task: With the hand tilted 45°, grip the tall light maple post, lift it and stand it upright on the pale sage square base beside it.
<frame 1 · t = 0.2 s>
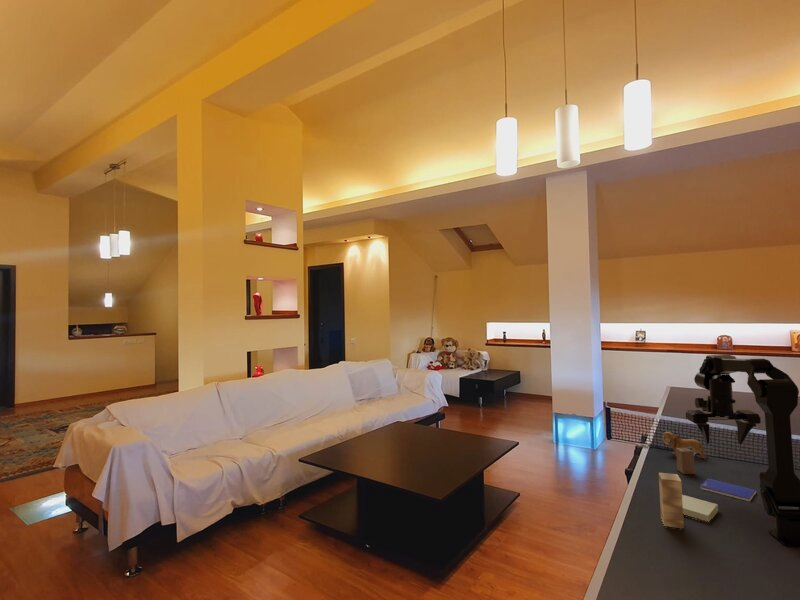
hand: (723, 443, 133), 15 cm above the table, tool pointing down, fingers open, 9 cm apart
wooden block: (685, 472, 148), on the table
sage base: (694, 513, 122), on the table
hard drive: (727, 493, 133), on the table
maple post: (672, 524, 115), on the table
lion figurine: (684, 456, 162), on the table
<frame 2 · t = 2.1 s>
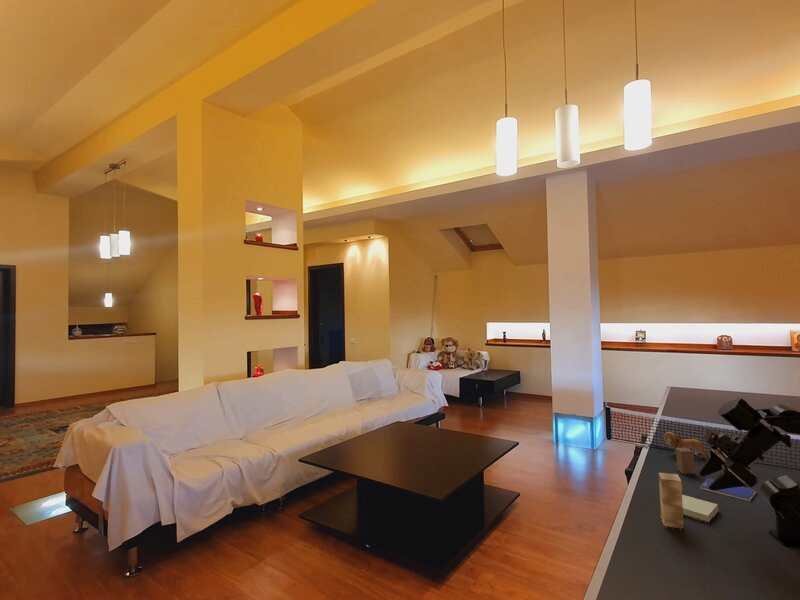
hand: (705, 481, 113), 12 cm above the table, tool tilted 45°, fingers open, 9 cm apart
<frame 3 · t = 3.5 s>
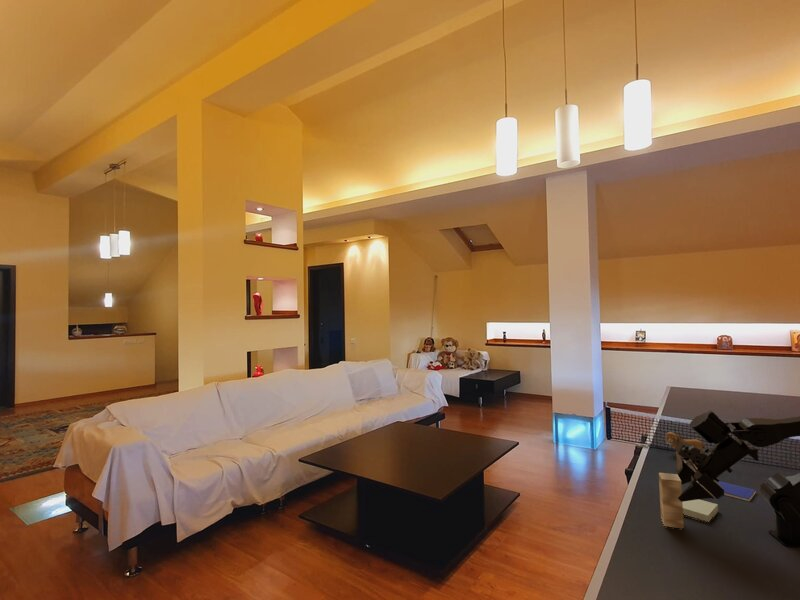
hand: (675, 492, 115), 9 cm above the table, tool tilted 45°, fingers open, 9 cm apart
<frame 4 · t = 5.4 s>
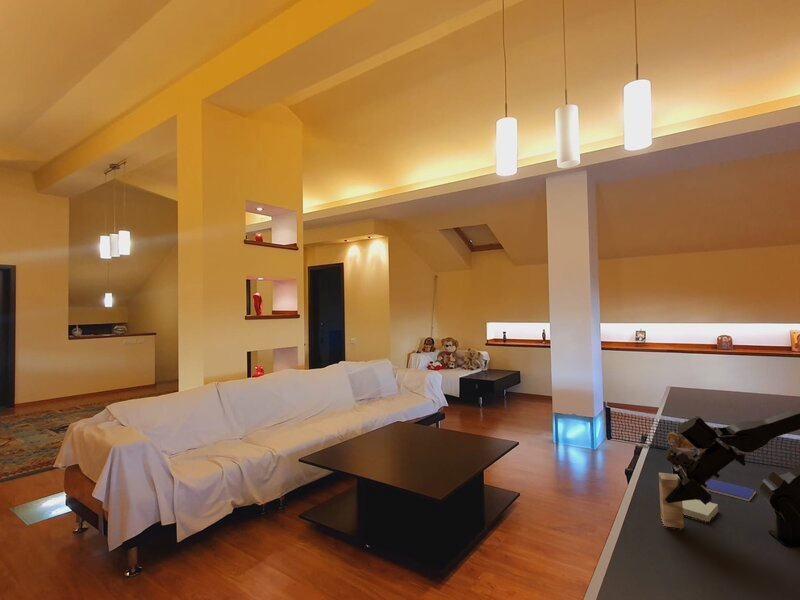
hand: (664, 497, 116), 7 cm above the table, tool tilted 45°, fingers closed on maple post, 4 cm apart
maple post: (672, 524, 115), on the table, touching gripper
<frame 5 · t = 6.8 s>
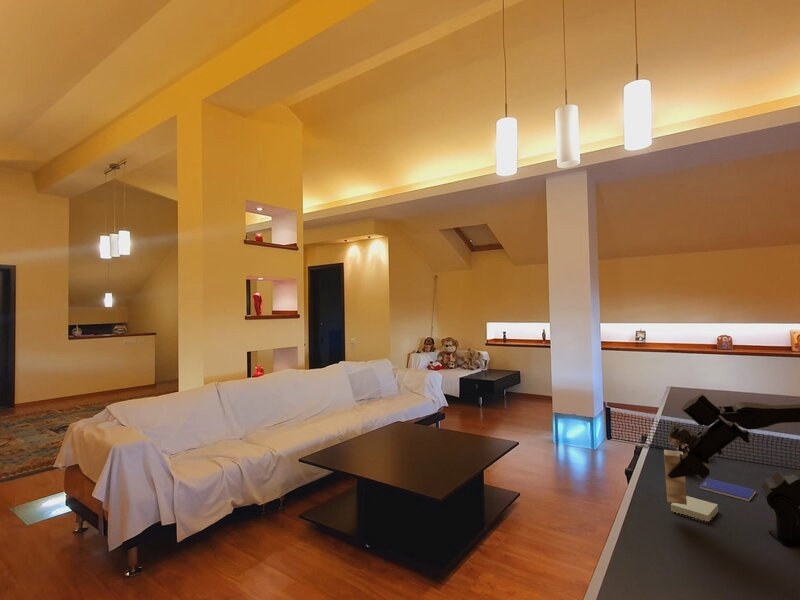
hand: (669, 473, 119), 12 cm above the table, tool tilted 45°, fingers closed on maple post, 4 cm apart
maple post: (676, 499, 118), point 5 cm above the table, touching gripper
when the fingers open (11 cm above the table, at t = 8.6 s): maple post drops 2 cm, point 2 cm above the table.
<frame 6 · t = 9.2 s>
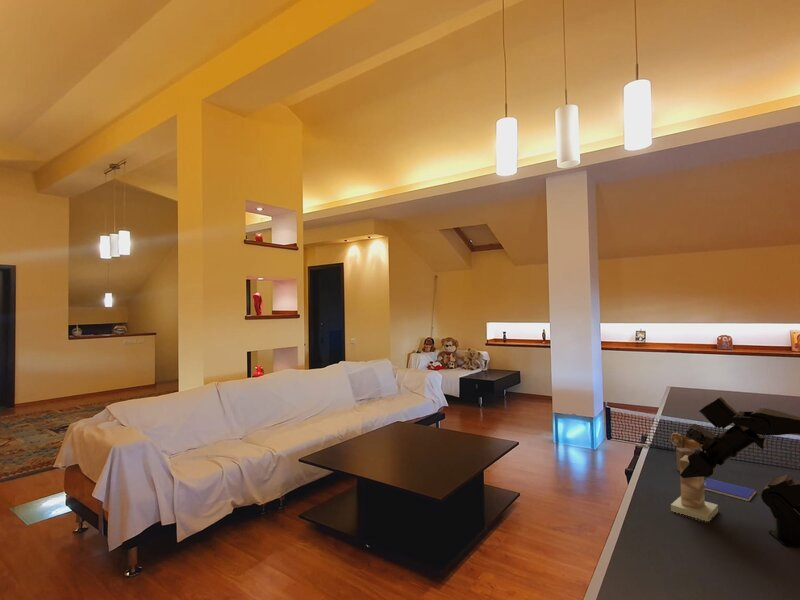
hand: (686, 471, 123), 11 cm above the table, tool tilted 45°, fingers open, 9 cm apart
maple post: (693, 504, 122), point 2 cm above the table
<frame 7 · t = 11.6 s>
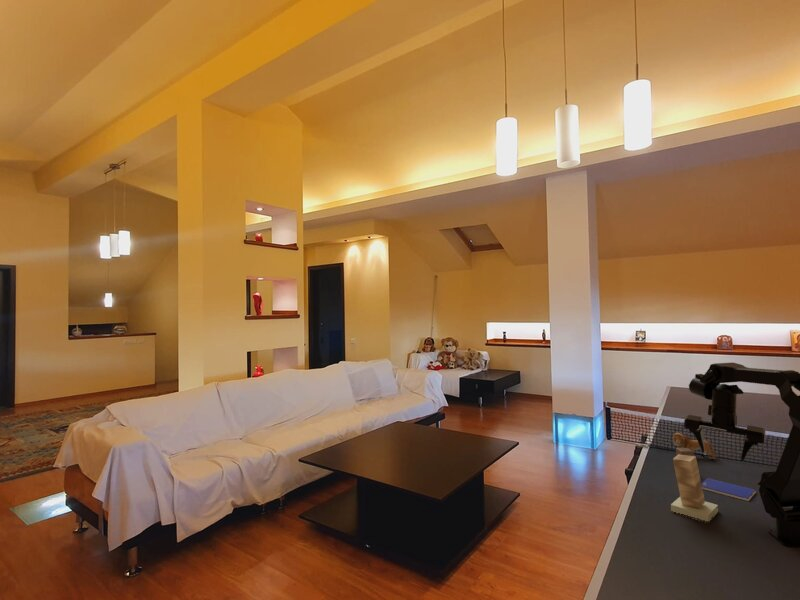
hand: (722, 456, 126), 14 cm above the table, tool pointing down, fingers open, 9 cm apart
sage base: (694, 513, 122), on the table, touching maple post
maple post: (693, 503, 122), point 2 cm above the table, tilted 7°, touching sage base
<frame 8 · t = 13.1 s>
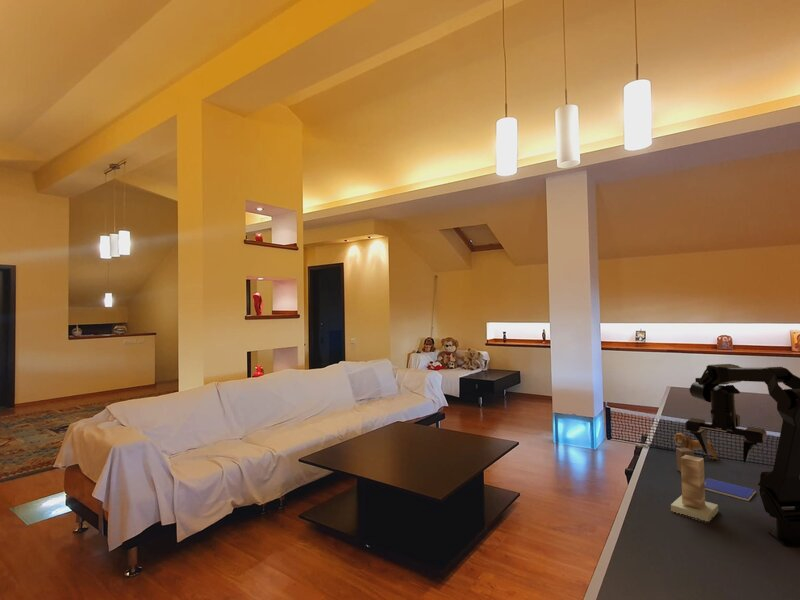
hand: (725, 458, 126), 13 cm above the table, tool pointing down, fingers open, 9 cm apart
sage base: (694, 513, 122), on the table
maple post: (693, 504, 121), point 2 cm above the table
at the end: maple post 0.4 cm off-centre on the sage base, point 2.5 cm above the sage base's base; maple post tilted 1°; the gripper is holding nothing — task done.
